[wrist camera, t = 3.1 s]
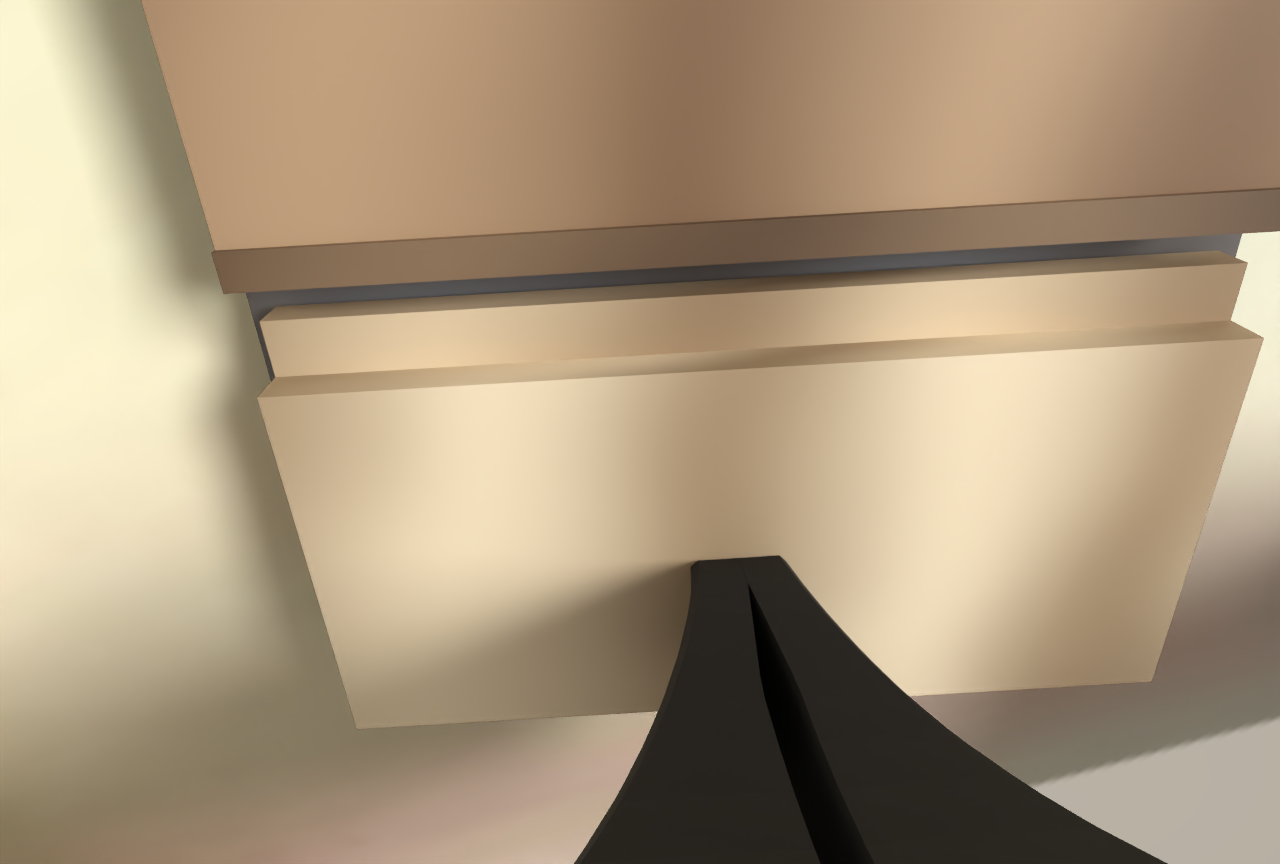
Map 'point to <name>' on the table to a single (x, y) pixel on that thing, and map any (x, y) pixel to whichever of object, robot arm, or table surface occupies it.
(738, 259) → the floor section
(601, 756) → the table surface
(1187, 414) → the board
